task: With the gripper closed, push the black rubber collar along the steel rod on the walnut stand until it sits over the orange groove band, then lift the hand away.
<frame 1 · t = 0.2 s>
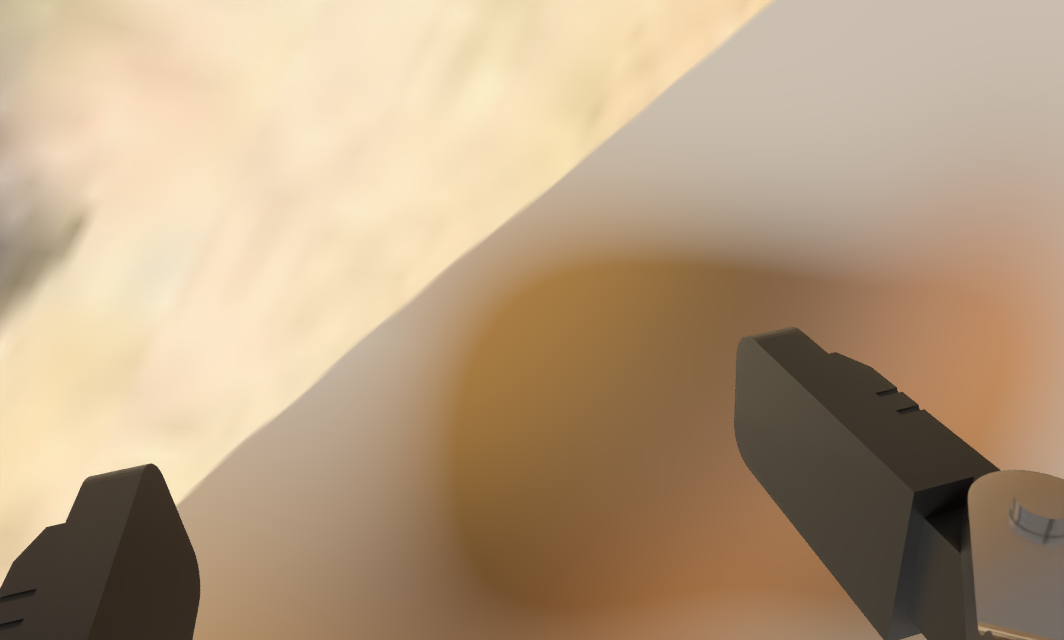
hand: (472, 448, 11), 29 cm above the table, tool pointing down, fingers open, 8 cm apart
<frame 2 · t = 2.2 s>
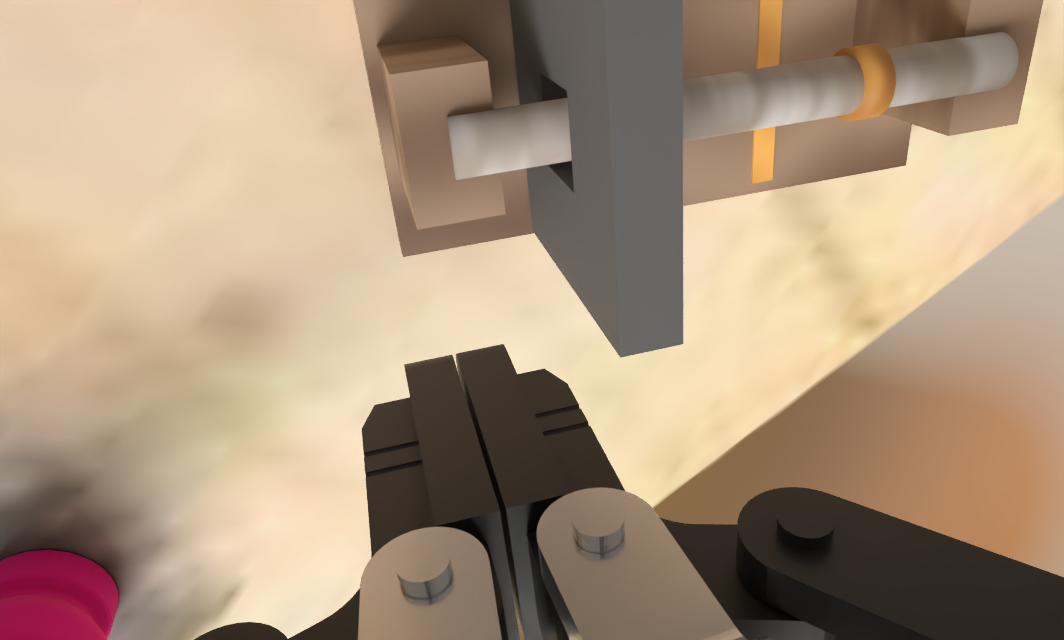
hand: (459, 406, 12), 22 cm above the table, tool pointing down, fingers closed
pepper mill: (50, 593, 38), on the table
collar: (586, 126, 25), point 8 cm above the table, slide at 0.0 cm
rod stand: (652, 64, 33), on the table
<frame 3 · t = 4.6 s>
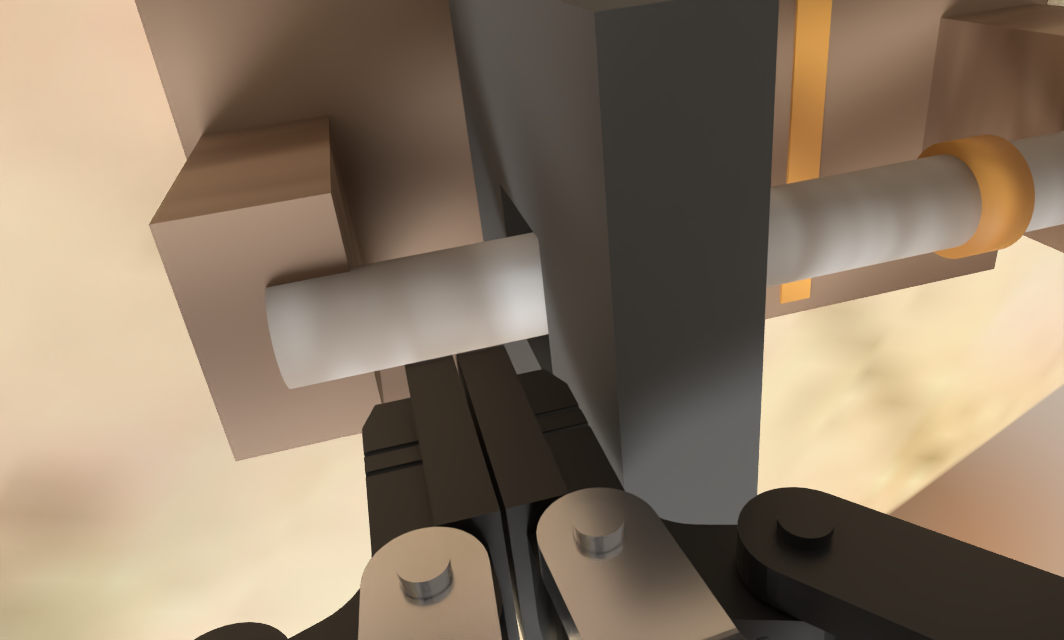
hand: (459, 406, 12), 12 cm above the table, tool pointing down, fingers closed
collar: (575, 276, 15), point 8 cm above the table, slide at 1.2 cm, touching gripper
rod stand: (637, 142, 23), on the table
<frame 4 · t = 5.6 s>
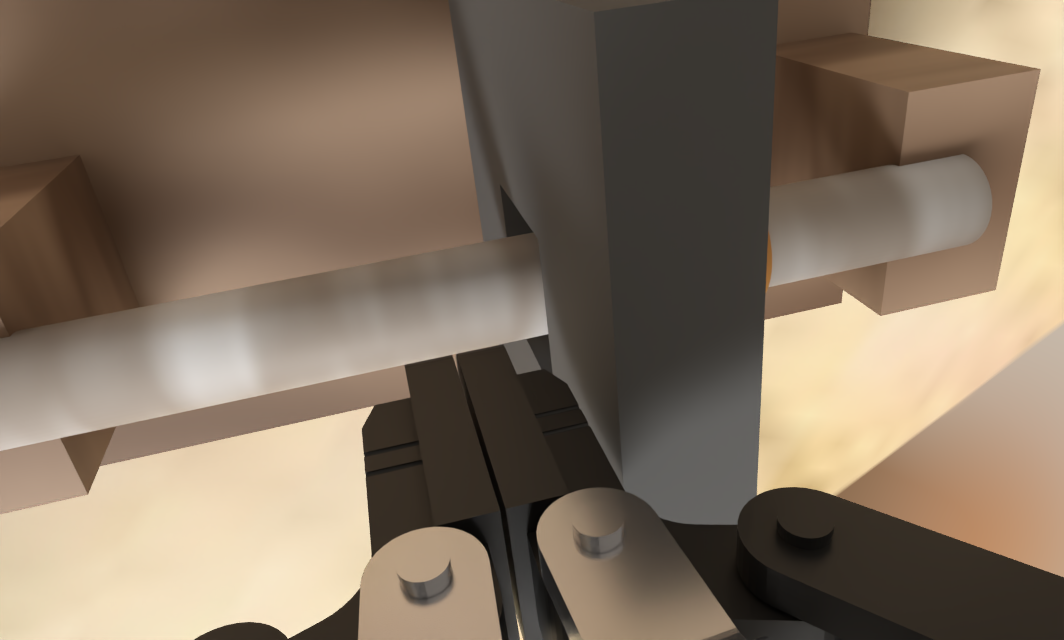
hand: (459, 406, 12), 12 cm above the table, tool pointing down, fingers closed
collar: (575, 276, 15), point 8 cm above the table, slide at 7.0 cm, touching gripper
rod stand: (446, 176, 22), on the table
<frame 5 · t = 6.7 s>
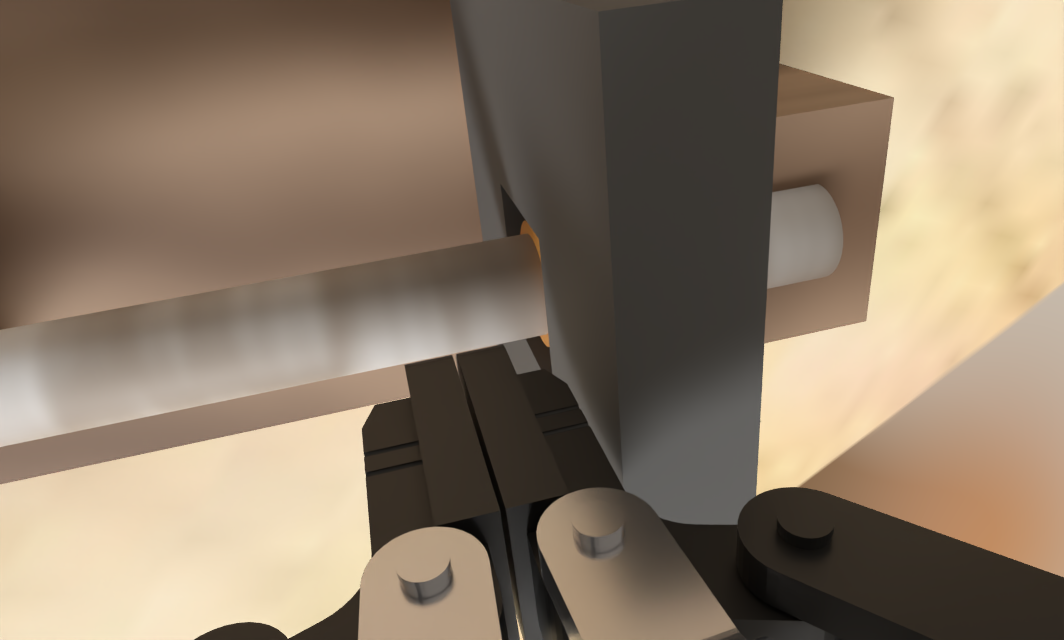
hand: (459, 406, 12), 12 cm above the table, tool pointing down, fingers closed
collar: (575, 276, 15), point 8 cm above the table, slide at 10.3 cm, touching gripper
rod stand: (327, 195, 21), on the table
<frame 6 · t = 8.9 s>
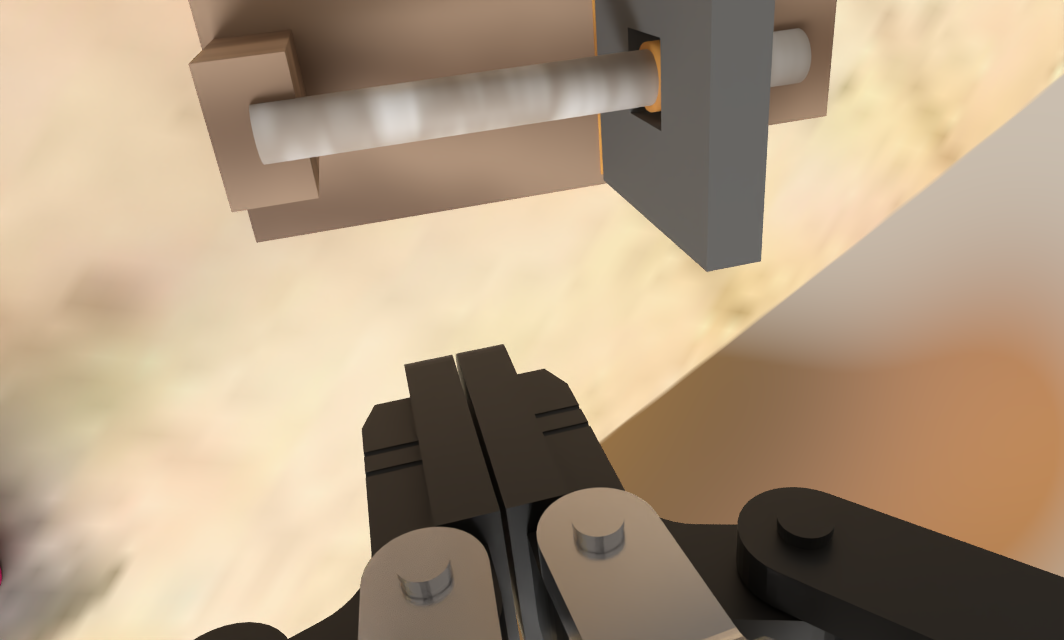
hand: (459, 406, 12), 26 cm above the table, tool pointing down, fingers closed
collar: (669, 74, 28), point 8 cm above the table, slide at 10.3 cm
rod stand: (498, 60, 34), on the table
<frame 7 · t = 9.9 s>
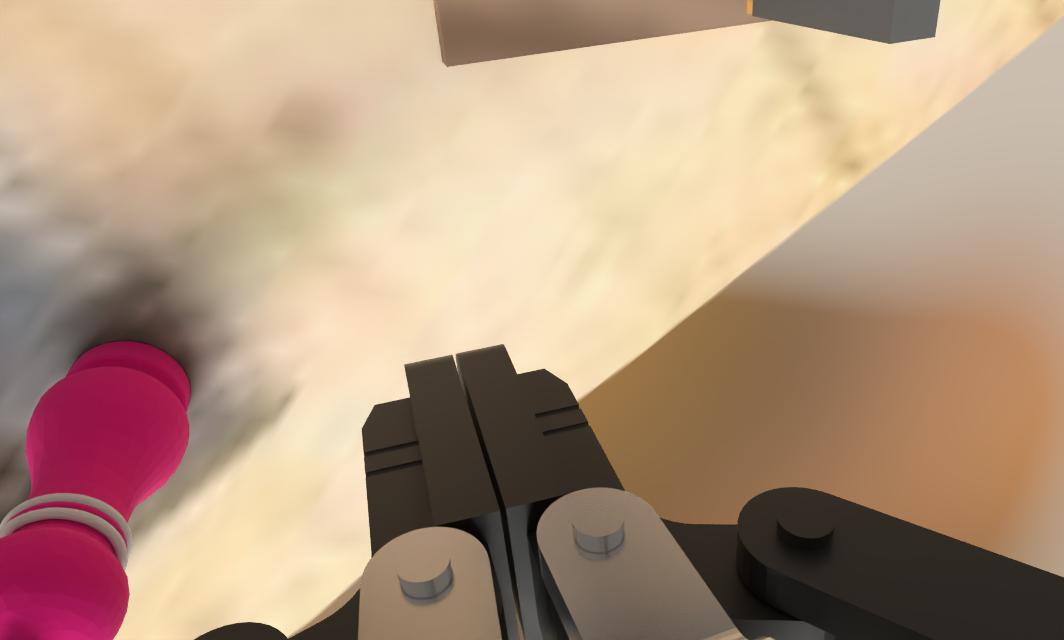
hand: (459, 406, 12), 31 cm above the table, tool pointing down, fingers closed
pepper mill: (131, 387, 43), on the table
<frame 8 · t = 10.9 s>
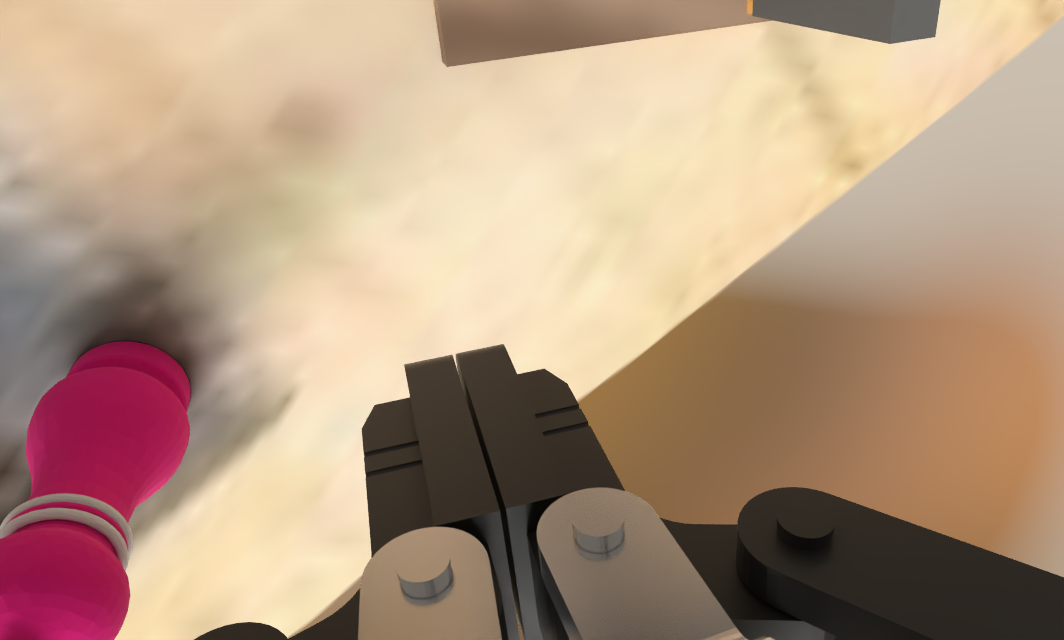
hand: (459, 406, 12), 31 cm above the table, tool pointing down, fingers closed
pepper mill: (131, 387, 43), on the table
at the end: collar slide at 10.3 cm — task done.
